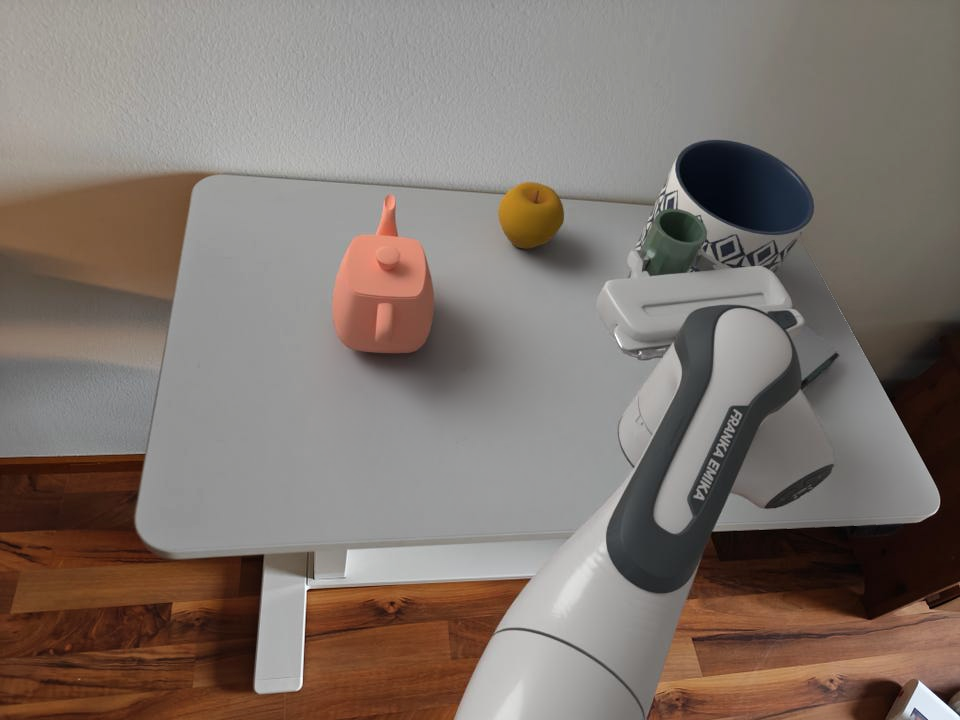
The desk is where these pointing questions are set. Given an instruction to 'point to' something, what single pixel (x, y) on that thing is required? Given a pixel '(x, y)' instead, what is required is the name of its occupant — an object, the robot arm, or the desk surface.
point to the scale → (813, 354)
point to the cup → (673, 242)
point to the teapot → (383, 291)
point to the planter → (738, 202)
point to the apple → (530, 214)
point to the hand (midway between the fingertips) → (663, 251)
